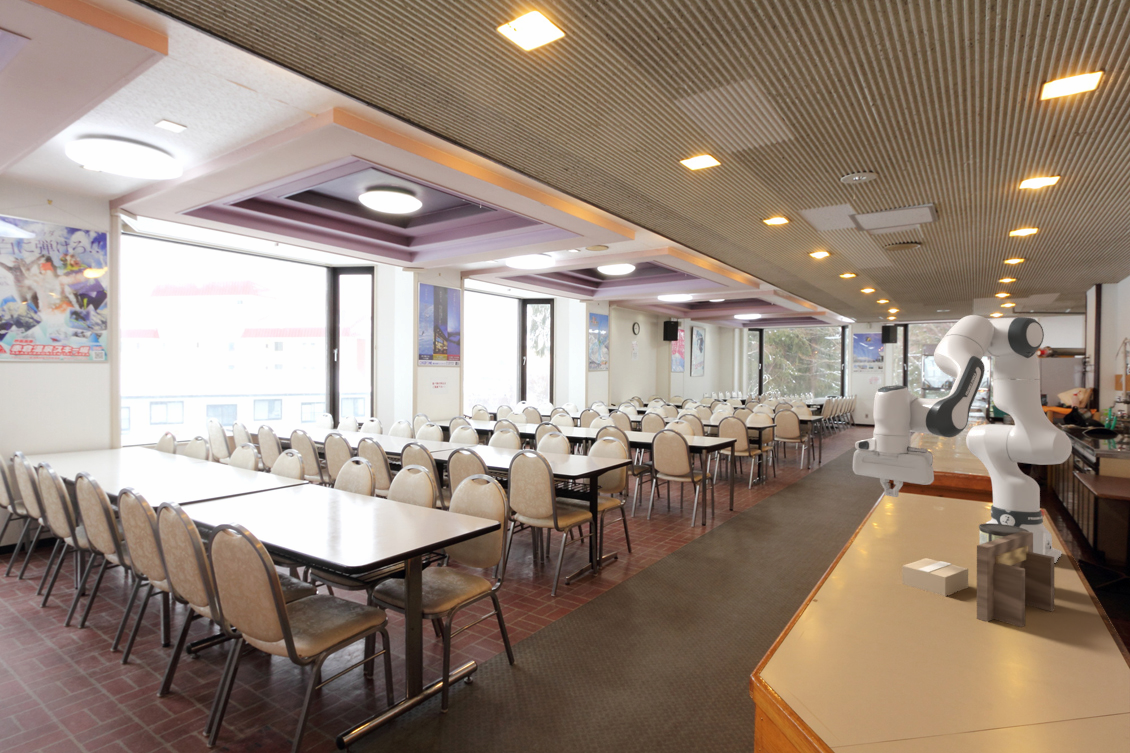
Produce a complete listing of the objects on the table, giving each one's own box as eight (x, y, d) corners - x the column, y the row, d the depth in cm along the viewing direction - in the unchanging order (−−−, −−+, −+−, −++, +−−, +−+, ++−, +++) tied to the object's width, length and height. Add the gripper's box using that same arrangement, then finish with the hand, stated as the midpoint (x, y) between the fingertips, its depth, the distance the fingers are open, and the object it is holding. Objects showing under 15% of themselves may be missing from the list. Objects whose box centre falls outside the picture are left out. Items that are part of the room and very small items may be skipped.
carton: (925, 576, 152) (925, 557, 153) (968, 588, 144) (968, 567, 144) (902, 585, 146) (902, 564, 146) (945, 597, 138) (945, 576, 138)
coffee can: (1014, 576, 152) (1014, 524, 152) (1038, 590, 142) (1038, 534, 142) (971, 574, 154) (971, 522, 154) (991, 587, 144) (991, 531, 144)
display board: (1020, 596, 138) (1020, 530, 138) (1059, 606, 132) (1059, 537, 132) (974, 617, 125) (974, 545, 125) (1014, 630, 119) (1014, 553, 119)
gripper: (938, 448, 147) (938, 501, 147) (862, 441, 165) (862, 488, 165) (926, 450, 144) (926, 504, 144) (849, 442, 161) (849, 490, 161)
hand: (891, 496), depth 155 cm, fingers closed
